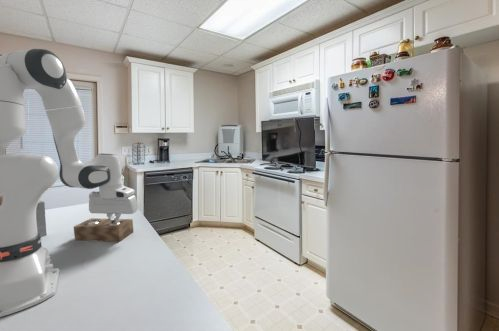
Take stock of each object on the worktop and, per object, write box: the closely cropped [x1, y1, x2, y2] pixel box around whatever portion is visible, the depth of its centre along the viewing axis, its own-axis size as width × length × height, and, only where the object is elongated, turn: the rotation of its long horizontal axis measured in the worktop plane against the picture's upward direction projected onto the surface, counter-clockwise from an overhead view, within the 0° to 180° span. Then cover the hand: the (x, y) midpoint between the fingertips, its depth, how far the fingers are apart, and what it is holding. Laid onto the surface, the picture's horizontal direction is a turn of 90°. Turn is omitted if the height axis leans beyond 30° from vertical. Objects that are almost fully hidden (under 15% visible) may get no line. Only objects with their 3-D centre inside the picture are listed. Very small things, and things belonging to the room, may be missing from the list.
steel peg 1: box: [88, 221, 99, 225], centre depth 110 cm, size 4×4×6 cm
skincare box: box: [36, 199, 48, 238], centre depth 110 cm, size 8×7×16 cm
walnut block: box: [73, 217, 134, 243], centre depth 109 cm, size 20×10×6 cm, turn 84°
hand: (114, 223), depth 108 cm, fingers closed, pressing on steel peg 2
